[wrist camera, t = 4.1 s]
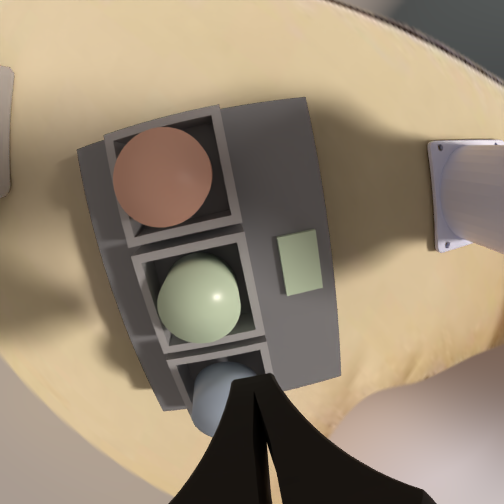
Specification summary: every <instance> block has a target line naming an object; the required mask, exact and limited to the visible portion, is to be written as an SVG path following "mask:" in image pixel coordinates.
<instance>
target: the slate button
mask: <svg viewBox="0 0 504 504" xmlns="http://www.w3.org/2000/svg"><path fill="white" fill-rule="evenodd" d="M256 375H257V374H256V373H255V372H254V371H253V370H252V369H251V368H249V367H247V366H246V365H243V364H240V363H237V362H218V363H214V364H211V365H209V366H207V367H206V368H204V369H203V370H202V371H200V373H199V374H198V375H197V377H196V379H195V383H194V394H193V406H192V420H193V422H194V424H195V426H196V427H197V428H198V429H199V430H200V431H201V432H203V433H204V434H206V435H208V436H211V437H213V436H214V434H215V432H216V429H217V427H218V425H219V422H220V419H221V417H222V414H223V411H224V409H225V406H226V402H227V399H228V396H229V392H230V387H231V382H232V381H233V380H235V379H240V378H246V377H251V376H256Z"/></svg>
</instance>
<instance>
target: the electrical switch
mask: <svg viewBox="0 0 504 504" xmlns="http://www.w3.org/2000/svg"><path fill="white" fill-rule="evenodd" d="M13 83H14V72H13V71H12V69H11V68H10V67H5V66H0V198H2V197H5V196H6V195H7V194H8V192H9V190H10V186H11V184H10V157H9V142H10V115H11V102H12V92H13Z"/></svg>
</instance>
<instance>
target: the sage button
mask: <svg viewBox="0 0 504 504" xmlns="http://www.w3.org/2000/svg"><path fill="white" fill-rule="evenodd" d="M157 307H158V313H159V316H160V318H161V321H162V322H163V324H164V325H165V327H166V328H167V329H168V330H169V331H170V332H171V333H172V334H174V335H175V336H177V337H178V338H180V339H182V340H185V341H188V342H192V343H210V342H214V341H216V340H219V339H221V338H223V337H224V336H226V335H227V334H228V333H229V332H230V331H231V330H232V329H233V328H234V327H235V325H236V323H237V321H238V319H239V316H240V310H241V304H240V298H239V291H238V285H237V280H236V276H235V274H234V272H233V270H232V268H231V267H230V266H229V265H228V264H227V263H226V262H225V261H224V260H223V259H221V258H219V257H217V256H215V255H213V254H209V253H192V254H189V255H186V256H184V257H182V258H181V259H179V260H178V261H177V262H176V263H175V264H174V265H173V266H172V267H171V269H170V271H169V273H168V275H167V277H166V279H165V281H164V283H163V285H162V287H161V290H160V292H159V295H158V300H157Z"/></svg>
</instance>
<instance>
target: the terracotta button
mask: <svg viewBox="0 0 504 504" xmlns="http://www.w3.org/2000/svg"><path fill="white" fill-rule="evenodd" d="M212 179H213V171H212V165H211V161H210V159H209V157H208V155H207V153H206V152H205V150H204V149H203V147H202V146H201V145H200V144H199V142H198V141H197V140H196V139H195V138H193V137H192V136H191V135H189V134H188V133H186V132H184V131H182V130H179V129H176V128H171V127H157V128H152V129H149V130H146V131H143V132H141V133H139V134H138V135H136V136H135V137H133V138H132V139H131V140H130V141H129V142H128V143H127V144H126V145H125V146H124V148H123V149H122V151H121V152H120V154H119V156H118V158H117V160H116V163H115V167H114V172H113V185H114V191H115V194H116V197H117V200H118V202H119V204H120V205H121V207H122V208H123V209H124V211H125V212H126V213H127V214H128V215H129V216H130V217H132V218H133V219H134V220H136V221H138V222H139V223H141V224H144V225H147V226H151V227H170V226H174V225H177V224H180V223H182V222H184V221H185V220H187V219H189V218H190V217H191V216H192V215H194V214H195V213H196V212H197V211H198V210H199V208H200V207H201V206H202V204H203V203H204V201H205V199H206V197H207V195H208V194H209V191H210V189H211V185H212Z"/></svg>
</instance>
